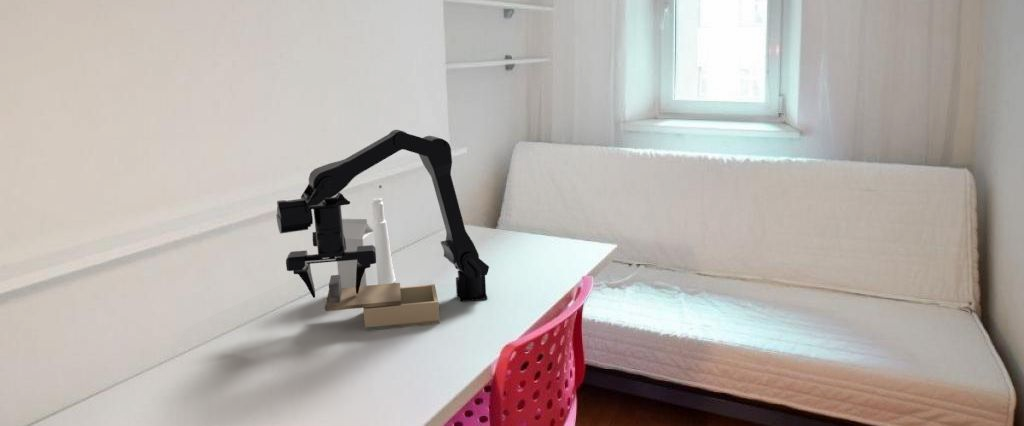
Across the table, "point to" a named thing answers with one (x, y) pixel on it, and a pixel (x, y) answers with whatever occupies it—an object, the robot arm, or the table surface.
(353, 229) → the milk carton
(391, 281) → the cosmetic bottle
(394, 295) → the lid
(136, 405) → the table surface
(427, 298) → the box
